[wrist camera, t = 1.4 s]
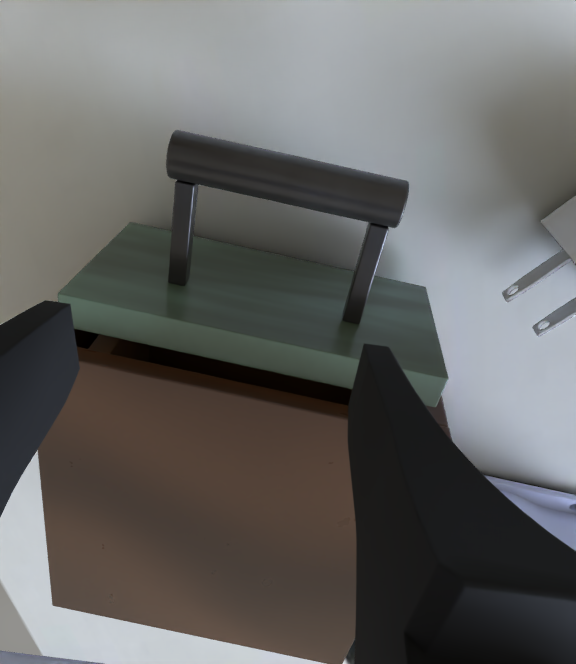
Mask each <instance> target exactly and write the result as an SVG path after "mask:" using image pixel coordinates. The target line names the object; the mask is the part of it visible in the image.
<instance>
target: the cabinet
mask: <svg viewBox="0 0 576 664" xmlns="http://www.w3.org/2000/svg"><path fill="white" fill-rule="evenodd" d="M74 332H75V338H76V345H77V352H78V359H79V366H80V370H79V372H78V375H77V377H76V380H75V382H74V384H73V387H72V389H71V392H70V394H69V396H68V398H67V400H66V403H65V405H64V406H63V408H62V410H61V411H60V413H59V415H58V416H57V418H56V420H55V421H54V423H53V425H52V426H51V428H50V430H49V431H48V433H47V435H46V436H45V438H44V439H43V441H42V443H41V444H40V446H39V448H38V458H39V469H40V479H41V490H42V500H43V510H44V521H45V531H46V542H47V552H48V563H49V573H50V583H51V594H52V604H53V606H57V607H62V608H67V609H71V610H76V611H81V612H86V613H90V614H95V615H100V616H105V617H109V618H114V619H119V620H123V621H128V622H133V623H138V624H142V625H147V626H152V627H156V628H161V629H166V630H171V631H175V632H180V633H185V634H190V635H194V636H199V637H204V638H208V639H213V640H218V641H223V642H227V643H232V644H237V645H241V646H246V647H251V648H256V649H260V650H265V651H270V652H275V653H279V654H284V655H289V656H293V657H298V658H303V659H308V660H312V661H317V662H322V663H327V664H342V663H343V661H344V659H345V657H346V655H347V653H348V651H349V649H350V647H351V645H352V643H353V641H354V639H355V627H356V521H355V511H354V501H353V491H352V481H351V471H350V461H349V451H348V406H347V405H343V404H338V403H334V402H329V401H324V400H320V399H315V398H311V397H306V396H301V395H297V394H292V393H288V392H283V391H278V390H274V389H269V388H265V387H260V386H255V385H251V384H246V383H242V382H237V381H232V380H228V379H223V378H219V377H214V376H209V375H205V374H200V373H196V372H191V371H187V370H182V369H177V368H173V367H168V366H164V365H159V364H154V363H150V362H145V361H141V360H136V359H131V358H127V357H122V356H118V355H113V354H108V353H104V352H99V351H95V350H90V349H88V348H89V347H90V346H91V344H92V343H93V342H94V341H95V339H96V338H97V337H98V335H99V334H96V333H92V332H87V331H82V330H78V329H74ZM425 406H426V405H425ZM426 407H427V409H428V410H429V412H430V413H431V414H432V416H433V417H434V419H435V420H436V421H437V423H438V424H439V425H440V427H441V428H442V429H443V430H444V432H445V433H446V434H447V436H448V437H449V438H450V439H451V434H450V430H449V428H448V422H447V418H446V413H445V409H444V404H443V400H442V395H441V397H440V399H439V401H438V404H437V406H436V407H431V406H426ZM451 441H452V439H451Z"/></svg>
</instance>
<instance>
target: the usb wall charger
mask: <svg viewBox="0 0 576 664" xmlns="http://www.w3.org/2000/svg"><path fill="white" fill-rule="evenodd" d="M540 222H541V223H542V224H543V225H544V227H545V228H546V229H547V230H548V232H549V233H550V234H551V235H552V236H553V238H554V239H555V240H556V241H557V243H558V244H559V245H560V246H561V247H562V250H561V251H560V252H558V253H557V254H555V255H554V256H552V257H551V258H549V259H548V260H547V261H545V262H544V263H542V264H541V265H539V266H538V267H536V268H535V269H534V270H532V271H531V272H529V273H528V274H526V275H525V276H523V277H522V278H521V279H519V280H518V281H517V282H515V283H514V284H513V285H511V286H510V287H509V288H507V289H506V290H505V291H503V292H502V295H503V296H504V298H505V300H506V302H510V301H511V300H513V299H514V298H516V297H518V296H519V295H521V294H522V293H524V292H526V291H527V290H529V289H530V288H532V287H533V286H535V285H536V284H538V283H539V282H541V281H542V280H544V279H545V278H547V277H548V276H550V275H551V274H553V273H554V272H556V271H557V270H559V269H560V268H561V267H563V266H564V265H566V264H567V263H569V262H570V261H573V262H574V263H575V265H576V195H575V196H574V197H573V198H571V199H570V200H569V201H567V202H566V203H565V204H563V205H562V206H560V207H559V208H558V209H556V210H555V211H554V212H552V213H551V214H550V215H548V216H547V217H545V218H544V219H543V220H541V221H540ZM515 288H518V290H517V291H516V292H515V293H514V294H512V295H509V294H510V292H511V291H512V290H514V289H515ZM575 315H576V298H574V299H573V300H571V301H569V302H568V303H566V304H565V305H563V306H562V307H560V308H558V309H557V310H555V311H554V312H552V313H551V314H549V315H548V316H547V317H545V318H544V319H542V320H541V321H539V322H538V323H537V324H535V325H534V326H533V329H534V331H535V333H536V334H537V336H538V337H539V336H542V335H543V334H545V333H547V332H549V331H550V330H552V329H554V328H556V327H557V326H559V325H561V324H563V323H564V322H566V321H567V320H569V319H571V318H572V317H574V316H575ZM547 322H550V324H549V325H548V327H546V328H545V329H542V330H540V327H541V326H542V325H543V324H545V323H547Z"/></svg>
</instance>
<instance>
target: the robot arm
mask: <svg viewBox="0 0 576 664" xmlns="http://www.w3.org/2000/svg"><path fill="white" fill-rule="evenodd" d="M79 370H80V366H79V359H78V352H77V345H76V338H75V332H74V325H73V318H72V311H71V304H68V303H61V302H54V301H46V300H45V301H43V302H41V303H39V304H37V305H35V306H33V307H31V308H30V309H28V310H26V311H24V312H22V313H21V314H19V315H17V316H15V317H14V318H12V319H10V320H8V321H7V322H5V323H3V324H1V325H0V517H1V515H2V512H3V510H4V508H5V506H6V504H7V502H8V500H9V498H10V495H11V493H12V492H13V490H14V488H15V486H16V484H17V483H18V481H19V479H20V477H21V475H22V474H23V472H24V470H25V469H26V467H27V466H28V464H29V462H30V461H31V459H32V457H33V456H34V454H35V453H36V451H37V449H38V448H39V446H40V444H41V443H42V441H43V439H44V438H45V436H46V435H47V433H48V431H49V430H50V428H51V426H52V425H53V423H54V421H55V420H56V418H57V416H58V415H59V413H60V411H61V410H62V408H63V406H64V405H65V403H66V400H67V398H68V396H69V394H70V392H71V389H72V387H73V384H74V382H75V380H76V377H77V375H78V372H79ZM348 451H349V461H350V471H351V481H352V491H353V501H354V511H355V521H356V627H355V664H576V495H573V494H568V493H564V492H559V491H555V490H550V489H545V488H541V487H536V486H532V485H527V484H522V483H518V482H513V481H508V480H504V479H499V478H495V477H490V476H485V475H483V474H482V473H481V472H480V471H479V470H478V469H477V468H476V467H475V466H474V465H473V464H472V463H471V462H470V461H469V460H468V459H467V457H466V456H465V455H464V454H463V453H462V452H461V451H460V450H459V449H458V448H457V446H456V445H455V444H454V443H453V442H452V441H451V439H450V438H449V437H448V436H447V434H446V433H445V432H444V430H443V429H442V428H441V427H440V425H439V424H438V423H437V421H436V420H435V419H434V417H433V416H432V414H431V413H430V412H429V410H428V409H427V407H426V406H425V404H424V403H423V401H422V400H421V398H420V397H419V395H418V394H417V392H416V391H415V389H414V388H413V386H412V384H411V383H410V381H409V380H408V378H407V376H406V375H405V373H404V371H403V370H402V368H401V366H400V364H399V363H398V361H397V359H396V357H395V356H394V354H393V352H392V351H391V349H390V348H389V347H388V346H380V345H373V344H365V343H364V345H363V349H362V353H361V357H360V361H359V365H358V369H357V373H356V377H355V381H354V385H353V389H352V392H351V396H350V400H349V405H348ZM0 664H103V663H95V662H87V661H79V660H71V659H63V658H55V657H47V656H38V655H30V654H23V653H15V652H6V651H0Z"/></svg>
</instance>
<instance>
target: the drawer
mask: <svg viewBox="0 0 576 664" xmlns="http://www.w3.org/2000/svg"><path fill="white" fill-rule="evenodd" d="M166 168H167V174H168V176H169V177H170V178H171V179H176V180H177V181H176V182H175V192H174V206H173V219H172V231H169V230H164V229H160V228H155V227H151V226H146V225H142V224H137V223H133V222H130V223H129V224H128V225H127V226H126V227H125V228H124V229H123V230H122V231H121V232H120V233H119V234H118V235H117V236H116V237H115V238H114V239H112V240H111V241H110V242H109V243H108V244H107V245H106V246H105V247H104V248H103V249H102V250H101V251H100V252H99V253H98V254H97V255H96V256H95V257H94V258H93V259H92V260H91V261H90V262H89V263H88V264H87V265H86V266H85V267H84V268H83V269H82V270H81V271H80V272H79V273H78V274H77V275H76V276H75V277H74V278H73V279H72V280H71V281H70V282H69V283H68V284H67V285H66V286H65V287H64V288H63V289H62V290H61V291H60V292H59V293H58V302H61V303H68V304H71V311H72V318H73V325H74V329H78V330H82V331H87V332H92V333H96V334H99V335H98V337H97V338H96V339H95V341H94V342H93V343H92V344H91V346H90V347H89V348H88V349H90V350H95V351H99V352H104V353H108V354H113V355H118V356H122V357H127V358H131V359H136V360H141V361H145V362H150V363H154V364H159V365H164V366H168V367H173V368H177V369H182V370H187V371H191V372H196V373H200V374H205V375H209V376H214V377H219V378H223V379H228V380H232V381H237V382H242V383H246V384H251V385H255V386H260V387H265V388H269V389H274V390H278V391H283V392H288V393H292V394H297V395H301V396H306V397H311V398H315V399H320V400H324V401H329V402H334V403H338V404H343V405H347V406H348V405H349V400H350V396H351V392H352V389H353V385H354V381H355V377H356V373H357V369H358V365H359V361H360V357H361V353H362V349H363V345H364V343H365V344H373V345H380V346H388V347H389V348H390V349H391V351H392V352H393V354H394V356H395V357H396V359H397V361H398V363H399V364H400V366H401V368H402V370H403V371H404V373H405V375H406V376H407V378H408V380H409V381H410V383H411V384H412V386H413V388H414V389H415V391H416V392H417V394H418V395H419V397H420V398H421V400H422V401H423V403H424V404H425V405H426V406H431V407H436V406H437V404H438V401H439V399H440V397H441V395H442V393H443V390H444V388H445V386H446V384H447V381H448V374H447V371H446V367H445V363H444V359H443V355H442V351H441V347H440V343H439V339H438V335H437V331H436V327H435V323H434V319H433V315H432V311H431V307H430V303H429V299H428V295H427V291H426V287H423V286H418V285H414V284H409V283H405V282H400V281H396V280H391V279H387V278H382V277H377V276H375V272H376V269H377V266H378V263H379V260H380V256H381V253H382V250H383V247H384V244H385V240H386V237H387V234H388V231H389V229H388V227H392V228H396V227H397V226H398V225H399V223H400V221H401V219H402V216H403V213H404V210H405V206H406V203H407V198H408V192H409V183H408V182H407V181H405V180H401V179H396V178H392V177H387V176H383V175H378V174H374V173H369V172H365V171H360V170H356V169H351V168H347V167H342V166H338V165H333V164H329V163H324V162H320V161H315V160H311V159H306V158H302V157H298V156H293V155H289V154H284V153H280V152H275V151H271V150H266V149H262V148H257V147H253V146H248V145H244V144H239V143H235V142H230V141H226V140H221V139H217V138H212V137H208V136H203V135H199V134H194V133H190V132H185V131H181V130H176V131H174V133H173V134H172V136H171V139H170V142H169V146H168V150H167V159H166ZM198 185H203V186H207V187H212V188H217V189H221V190H226V191H230V192H235V193H239V194H244V195H248V196H253V197H257V198H262V199H266V200H271V201H275V202H280V203H284V204H289V205H293V206H298V207H302V208H307V209H311V210H316V211H320V212H325V213H329V214H334V215H338V216H343V217H347V218H352V219H356V220H361V221H365V222H368V226H367V229H366V233H365V236H364V240H363V243H362V247H361V250H360V254H359V257H358V260H357V264H356V267H355V271H350V270H346V269H341V268H337V267H332V266H328V265H323V264H319V263H314V262H309V261H305V260H300V259H296V258H291V257H287V256H282V255H278V254H273V253H269V252H264V251H260V250H255V249H251V248H246V247H241V246H237V245H232V244H228V243H223V242H219V241H214V240H210V239H205V238H201V237H196V236H193V235H194V225H195V215H196V205H197V195H198Z"/></svg>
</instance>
